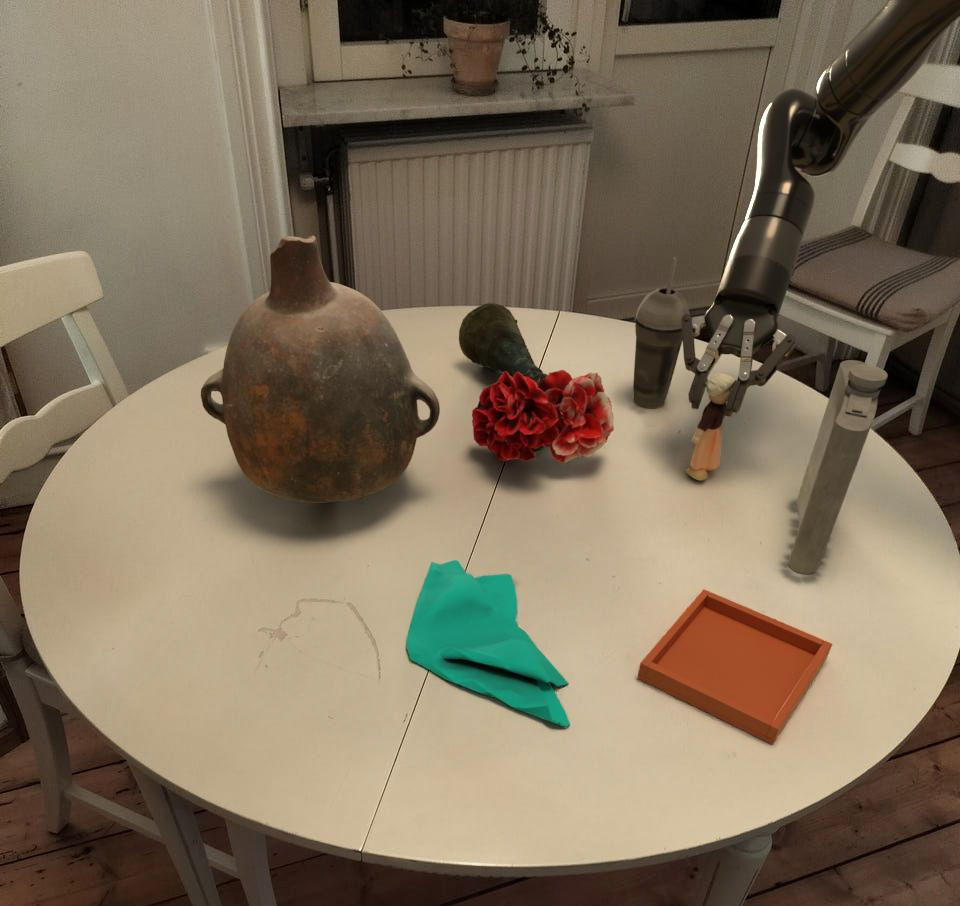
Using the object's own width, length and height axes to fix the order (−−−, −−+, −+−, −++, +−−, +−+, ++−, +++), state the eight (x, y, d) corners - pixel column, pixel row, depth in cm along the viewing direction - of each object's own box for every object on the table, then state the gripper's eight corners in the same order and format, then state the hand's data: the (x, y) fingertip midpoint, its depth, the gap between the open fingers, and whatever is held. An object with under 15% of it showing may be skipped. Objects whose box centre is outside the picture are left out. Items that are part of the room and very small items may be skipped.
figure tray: (826, 659, 84) (832, 643, 83) (772, 744, 76) (778, 729, 75) (699, 603, 90) (703, 588, 88) (636, 678, 82) (640, 662, 80)
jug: (397, 429, 115) (384, 184, 94) (456, 516, 101) (456, 249, 80) (212, 464, 108) (155, 208, 87) (247, 563, 93) (188, 284, 73)
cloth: (382, 573, 93) (380, 556, 91) (503, 553, 96) (504, 536, 94) (439, 755, 74) (439, 738, 73) (588, 724, 77) (590, 707, 76)
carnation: (478, 411, 134) (577, 525, 109) (386, 348, 123) (474, 459, 98) (541, 326, 129) (660, 425, 104) (452, 252, 118) (562, 343, 93)
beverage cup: (668, 388, 125) (694, 244, 111) (680, 412, 119) (708, 265, 106) (618, 388, 124) (638, 244, 111) (628, 413, 119) (650, 265, 105)
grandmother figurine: (710, 487, 105) (733, 392, 96) (679, 480, 106) (699, 384, 97) (724, 457, 110) (747, 363, 101) (695, 450, 111) (715, 357, 102)
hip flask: (797, 494, 105) (848, 335, 91) (831, 500, 104) (888, 341, 91) (786, 570, 94) (843, 403, 80) (825, 578, 93) (888, 410, 79)
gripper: (697, 243, 99) (649, 386, 99) (823, 264, 94) (772, 413, 95) (701, 274, 106) (656, 408, 106) (818, 295, 101) (771, 434, 102)
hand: (711, 409), depth 100 cm, fingers closed on grandmother figurine, 3 cm apart
